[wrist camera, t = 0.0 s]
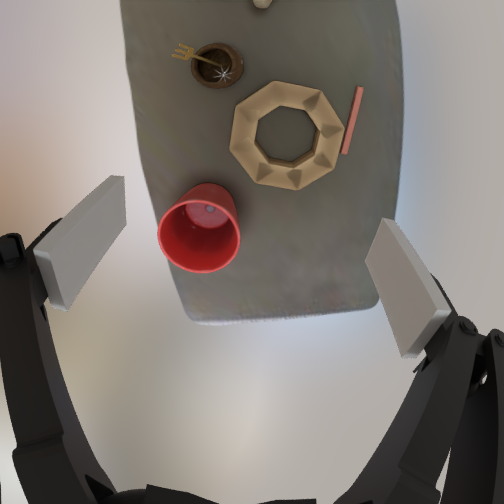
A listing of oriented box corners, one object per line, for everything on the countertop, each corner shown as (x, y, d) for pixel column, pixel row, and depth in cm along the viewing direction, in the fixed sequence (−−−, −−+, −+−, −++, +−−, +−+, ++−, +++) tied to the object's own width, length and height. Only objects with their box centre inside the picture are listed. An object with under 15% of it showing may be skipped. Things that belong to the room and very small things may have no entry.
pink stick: (356, 85, 34) (358, 86, 33) (361, 87, 34) (363, 88, 33) (340, 151, 39) (341, 153, 38) (345, 153, 39) (346, 154, 39)
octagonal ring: (242, 75, 34) (240, 75, 31) (345, 96, 35) (351, 99, 32) (227, 171, 42) (225, 178, 39) (322, 188, 42) (326, 196, 40)
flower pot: (260, 210, 45) (258, 246, 37) (207, 247, 49) (196, 285, 41) (213, 158, 41) (200, 182, 33) (162, 202, 45) (140, 234, 37)
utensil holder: (229, 94, 35) (215, 103, 25) (189, 73, 34) (160, 75, 24) (253, 59, 32) (249, 53, 23) (212, 37, 31) (191, 24, 21)
